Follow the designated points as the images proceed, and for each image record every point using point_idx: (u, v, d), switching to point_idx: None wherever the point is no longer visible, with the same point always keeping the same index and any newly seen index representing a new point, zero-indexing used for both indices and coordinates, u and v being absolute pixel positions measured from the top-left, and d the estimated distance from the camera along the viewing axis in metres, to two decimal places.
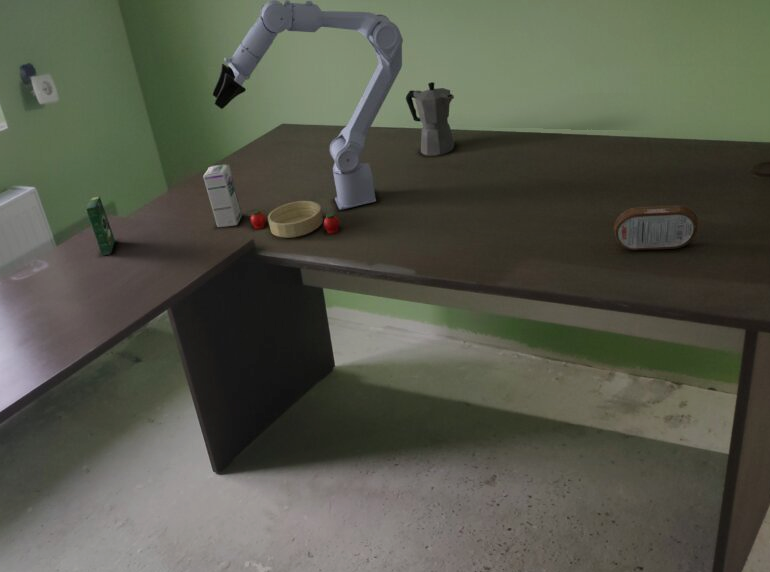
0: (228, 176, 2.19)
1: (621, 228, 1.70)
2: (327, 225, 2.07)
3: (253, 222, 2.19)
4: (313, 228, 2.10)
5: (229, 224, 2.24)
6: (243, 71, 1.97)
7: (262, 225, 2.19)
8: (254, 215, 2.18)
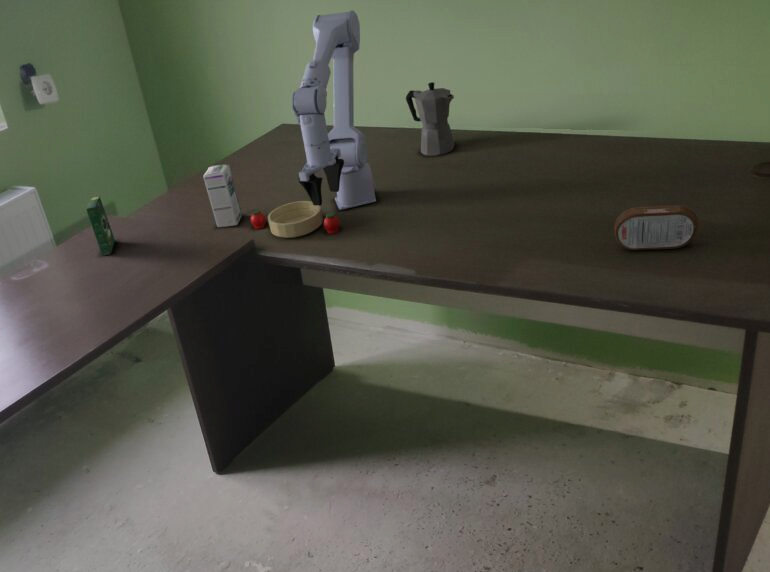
0: (228, 176, 2.19)
1: (621, 228, 1.70)
2: (327, 225, 2.07)
3: (253, 222, 2.19)
4: (313, 228, 2.10)
5: (229, 224, 2.24)
6: None
7: (262, 225, 2.19)
8: (254, 215, 2.18)
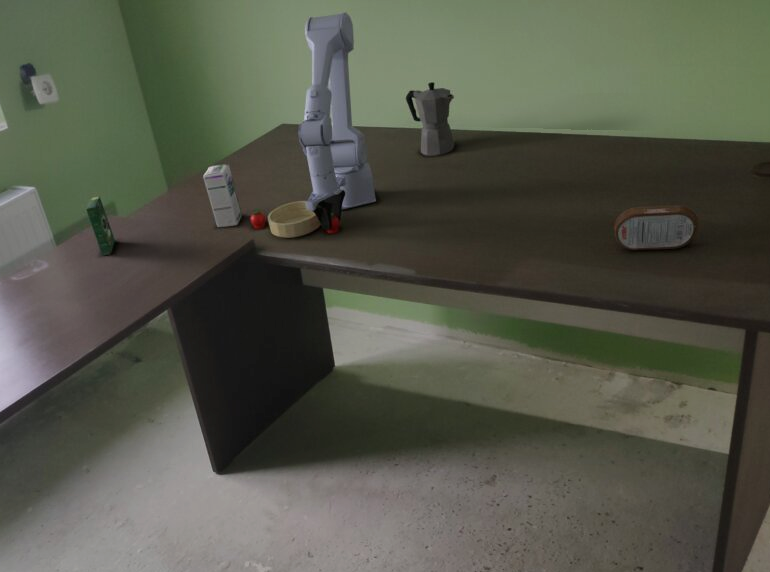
0: (228, 176, 2.19)
1: (621, 228, 1.70)
2: None
3: (253, 222, 2.19)
4: (313, 228, 2.10)
5: (229, 224, 2.24)
6: None
7: (262, 225, 2.19)
8: (254, 215, 2.18)
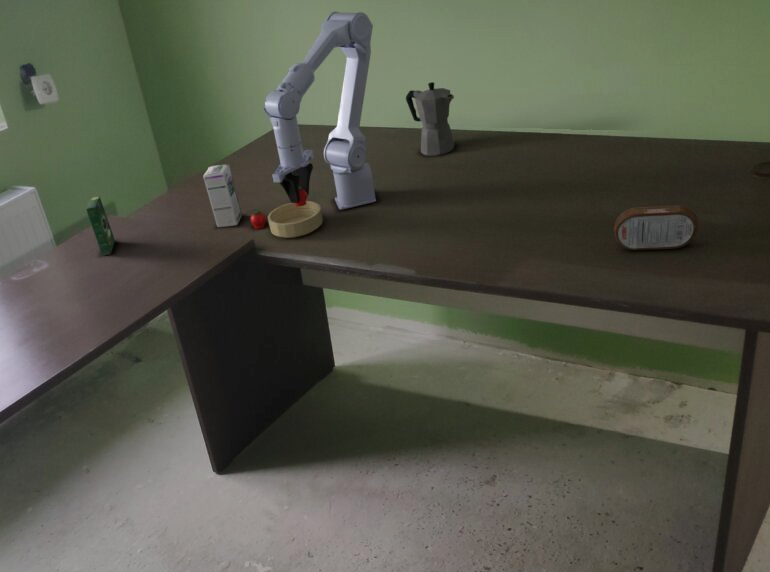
0: (228, 176, 2.19)
1: (621, 228, 1.70)
2: None
3: (253, 222, 2.19)
4: (313, 228, 2.10)
5: (229, 224, 2.24)
6: None
7: (262, 225, 2.19)
8: (254, 215, 2.18)
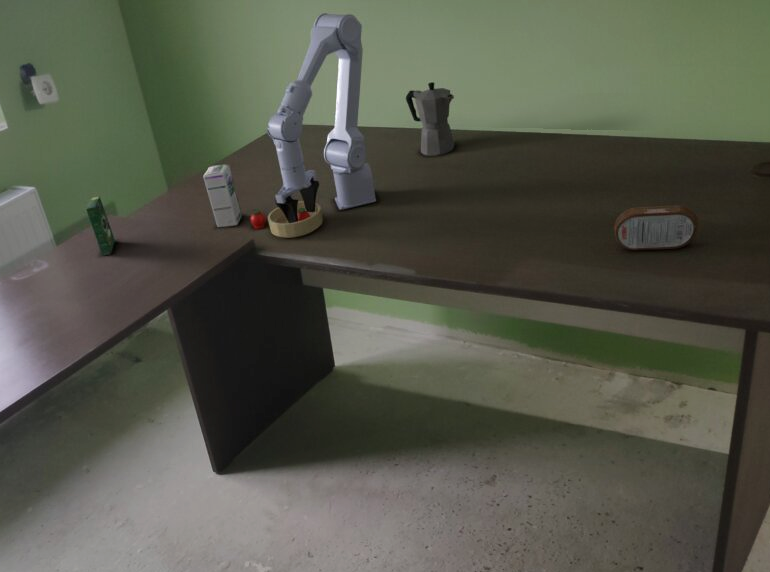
0: (228, 176, 2.19)
1: (621, 228, 1.70)
2: (298, 220, 2.11)
3: (253, 222, 2.19)
4: (313, 228, 2.10)
5: (229, 224, 2.24)
6: None
7: (262, 225, 2.19)
8: (254, 215, 2.18)
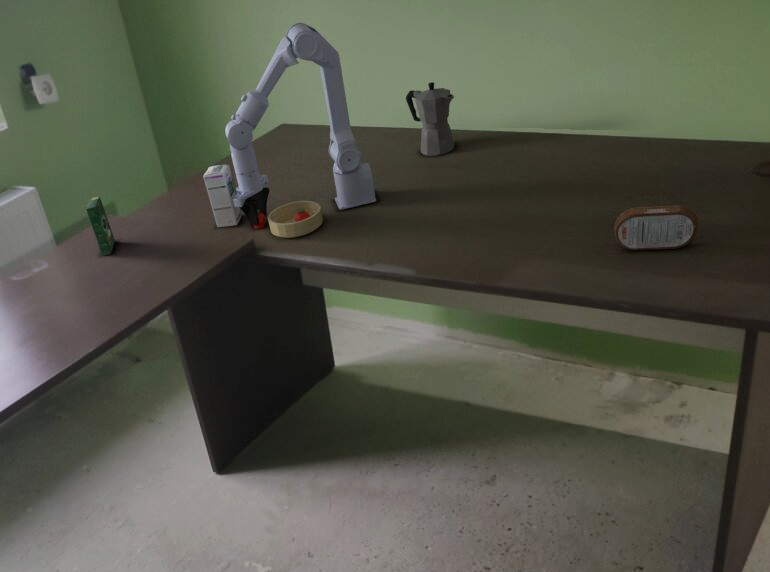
0: (228, 176, 2.19)
1: (621, 228, 1.70)
2: (298, 220, 2.11)
3: None
4: (313, 228, 2.10)
5: (229, 224, 2.24)
6: (246, 190, 2.12)
7: (262, 225, 2.19)
8: None
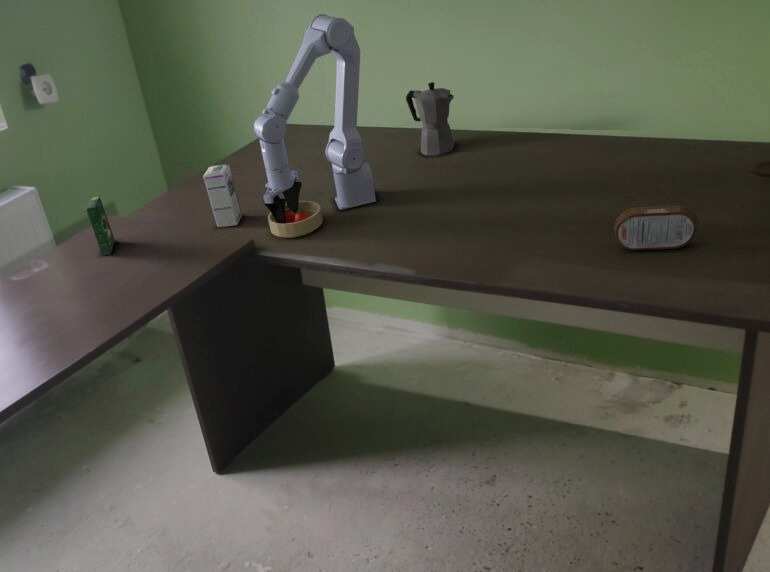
0: (228, 176, 2.19)
1: (621, 228, 1.70)
2: (298, 220, 2.11)
3: None
4: (313, 228, 2.10)
5: (229, 224, 2.24)
6: (277, 187, 2.08)
7: None
8: None
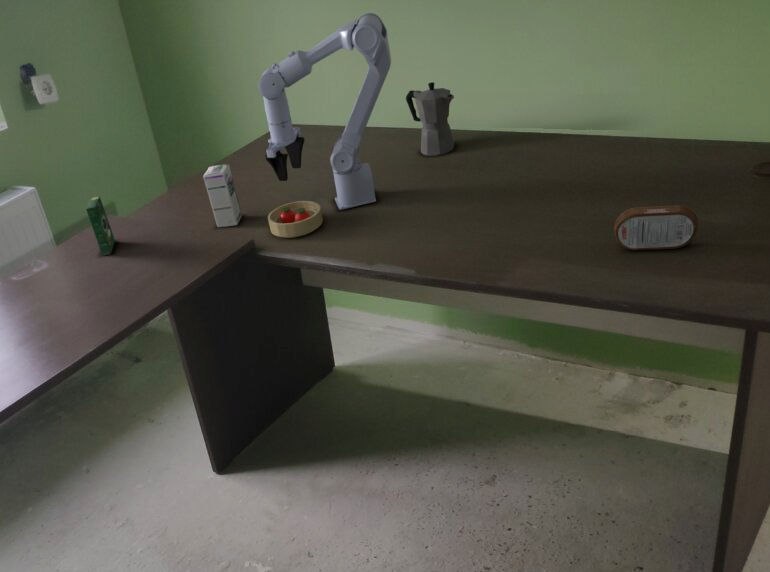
0: (228, 176, 2.19)
1: (621, 228, 1.70)
2: (298, 220, 2.11)
3: (282, 220, 2.14)
4: (313, 228, 2.10)
5: (229, 224, 2.24)
6: (279, 141, 2.12)
7: None
8: (284, 213, 2.14)
